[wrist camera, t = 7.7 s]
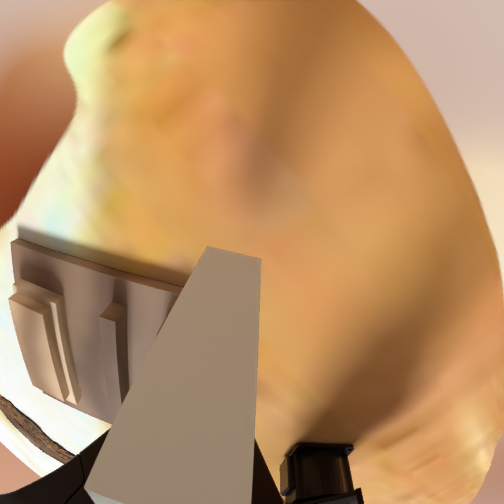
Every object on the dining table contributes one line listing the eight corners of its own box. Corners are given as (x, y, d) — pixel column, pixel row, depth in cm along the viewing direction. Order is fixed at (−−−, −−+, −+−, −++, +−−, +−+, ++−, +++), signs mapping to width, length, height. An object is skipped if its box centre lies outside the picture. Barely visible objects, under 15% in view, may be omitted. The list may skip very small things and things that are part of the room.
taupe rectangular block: (261, 258, 11) (249, 530, 2) (225, 390, 13) (199, 566, 4) (207, 246, 11) (83, 487, 2) (185, 380, 13) (135, 551, 4)
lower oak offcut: (64, 296, 18) (55, 303, 17) (81, 397, 22) (76, 404, 21) (21, 278, 18) (12, 284, 17) (43, 378, 22) (38, 385, 21)
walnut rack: (225, 297, 19) (219, 323, 16) (195, 441, 25) (190, 464, 22) (18, 238, 18) (-6, 250, 15) (47, 387, 24) (35, 403, 21)
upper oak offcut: (51, 307, 17) (42, 315, 16) (69, 393, 21) (64, 401, 20) (17, 291, 17) (8, 298, 16) (38, 377, 21) (32, 385, 19)
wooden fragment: (106, 473, 32) (104, 478, 31) (83, 477, 34) (82, 481, 33) (-18, 366, 26) (-21, 369, 25) (-22, 386, 29) (-25, 389, 28)
